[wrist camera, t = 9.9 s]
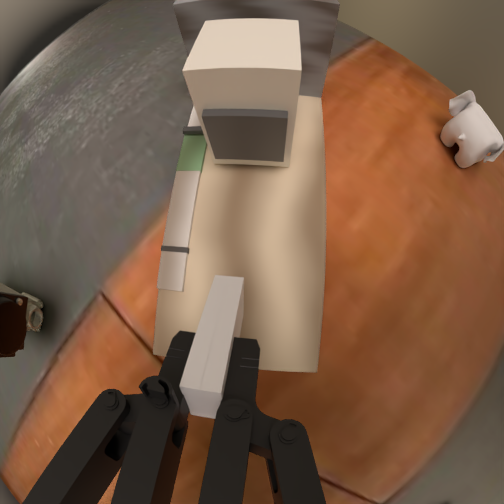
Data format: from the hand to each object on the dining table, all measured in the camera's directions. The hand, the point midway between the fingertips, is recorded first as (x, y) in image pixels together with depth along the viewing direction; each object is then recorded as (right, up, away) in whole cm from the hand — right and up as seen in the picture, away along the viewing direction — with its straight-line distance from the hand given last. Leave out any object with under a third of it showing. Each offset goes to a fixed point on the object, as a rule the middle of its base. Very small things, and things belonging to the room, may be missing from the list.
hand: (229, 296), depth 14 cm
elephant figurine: (+26, +15, +8) cm, 31 cm away
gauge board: (+1, +8, +8) cm, 11 cm away
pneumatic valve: (-22, -4, +7) cm, 23 cm away
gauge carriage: (0, +13, +7) cm, 15 cm away
